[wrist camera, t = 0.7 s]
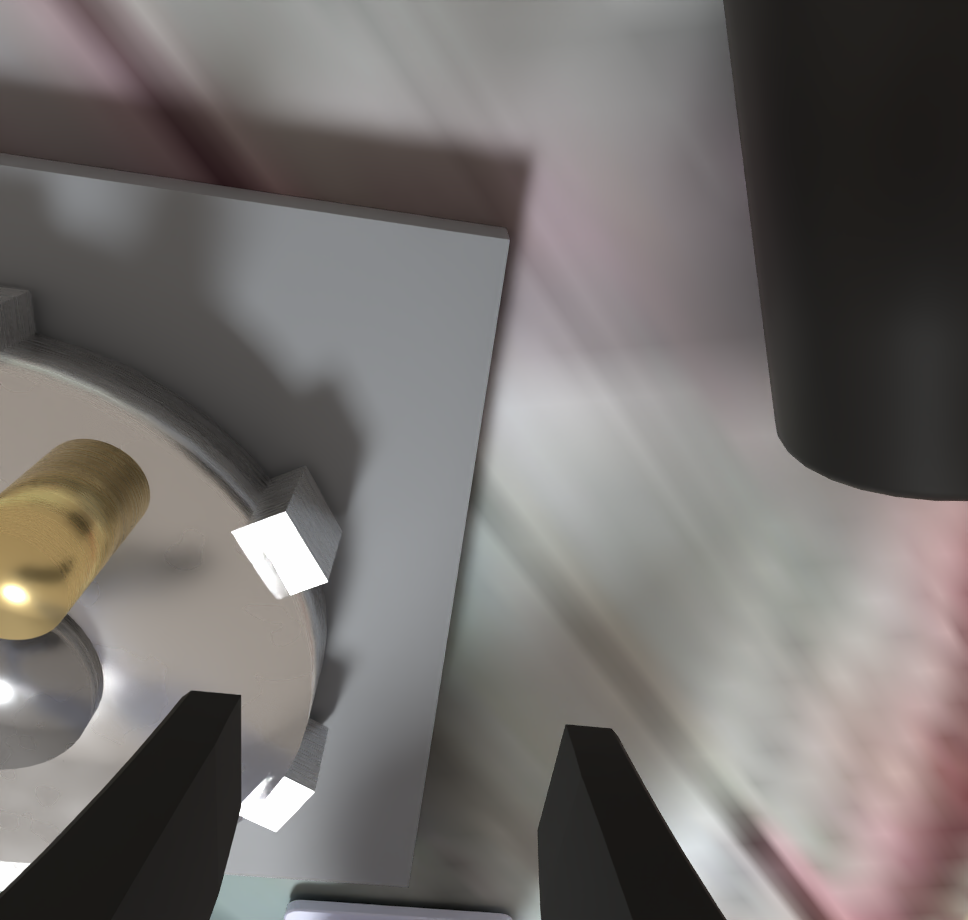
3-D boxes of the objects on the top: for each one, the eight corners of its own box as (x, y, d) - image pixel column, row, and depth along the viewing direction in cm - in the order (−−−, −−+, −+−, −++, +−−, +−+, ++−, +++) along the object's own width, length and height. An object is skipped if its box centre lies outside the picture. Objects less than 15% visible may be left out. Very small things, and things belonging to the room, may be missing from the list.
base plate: (411, 843, 24) (408, 890, 23) (-231, 795, 23) (-278, 842, 21) (505, 228, 16) (510, 241, 14) (-528, 74, 14) (-642, 71, 12)
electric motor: (650, -105, 13) (807, -279, 7) (1059, -247, 12) (1628, -580, 6) (726, 392, 17) (865, 546, 11) (1033, 308, 17) (1357, 426, 11)
